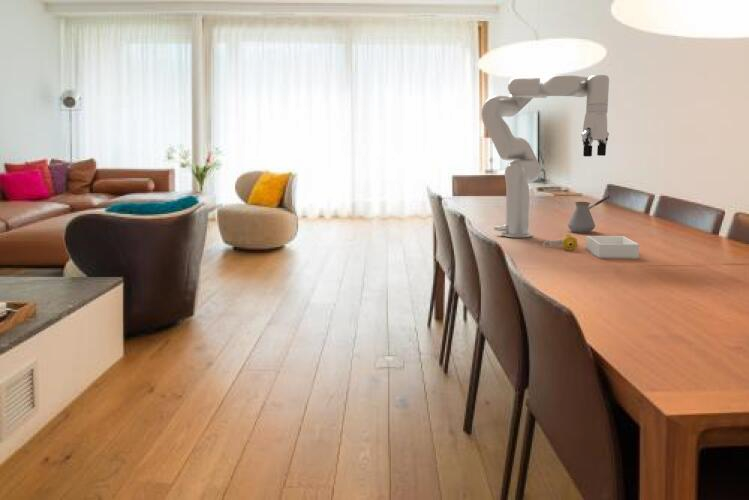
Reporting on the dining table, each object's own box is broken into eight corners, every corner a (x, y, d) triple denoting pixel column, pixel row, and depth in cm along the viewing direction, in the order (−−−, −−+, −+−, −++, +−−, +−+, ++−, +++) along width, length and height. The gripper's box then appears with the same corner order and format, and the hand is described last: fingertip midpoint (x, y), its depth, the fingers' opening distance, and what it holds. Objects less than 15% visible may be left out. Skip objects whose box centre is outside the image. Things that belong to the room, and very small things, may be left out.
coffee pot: (579, 234, 261) (581, 199, 259) (561, 230, 272) (563, 197, 269) (618, 231, 269) (620, 197, 267) (599, 227, 280) (601, 194, 277)
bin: (598, 258, 212) (599, 244, 211) (585, 248, 229) (586, 235, 228) (638, 258, 211) (639, 244, 210) (622, 249, 228) (623, 236, 227)
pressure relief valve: (576, 245, 234) (578, 251, 224) (544, 250, 237) (545, 255, 227) (574, 231, 233) (576, 236, 223) (542, 236, 236) (543, 240, 226)
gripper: (599, 110, 236) (597, 155, 239) (574, 109, 225) (572, 156, 228) (618, 109, 231) (615, 155, 234) (593, 108, 220) (591, 156, 223)
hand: (594, 155), depth 231 cm, fingers open, 9 cm apart
